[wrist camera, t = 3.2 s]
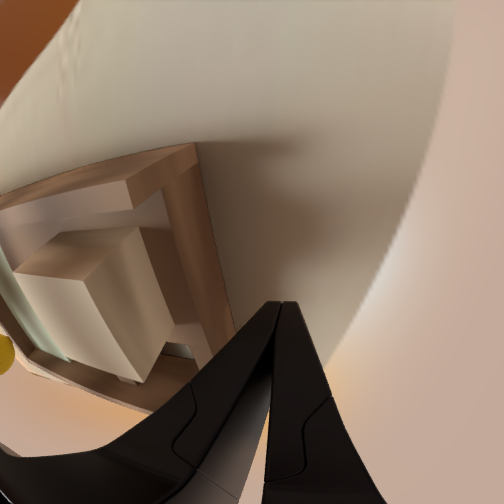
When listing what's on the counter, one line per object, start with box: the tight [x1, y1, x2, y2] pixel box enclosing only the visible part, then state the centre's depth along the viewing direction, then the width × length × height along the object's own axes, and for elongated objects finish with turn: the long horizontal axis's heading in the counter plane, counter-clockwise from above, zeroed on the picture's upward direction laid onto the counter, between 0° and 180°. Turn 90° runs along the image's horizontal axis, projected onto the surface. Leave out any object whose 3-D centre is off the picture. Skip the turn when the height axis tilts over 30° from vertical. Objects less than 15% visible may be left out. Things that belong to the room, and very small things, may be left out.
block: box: [12, 227, 175, 383], centre depth 9 cm, size 4×4×3 cm
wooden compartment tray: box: [0, 142, 236, 415], centre depth 14 cm, size 20×14×4 cm
